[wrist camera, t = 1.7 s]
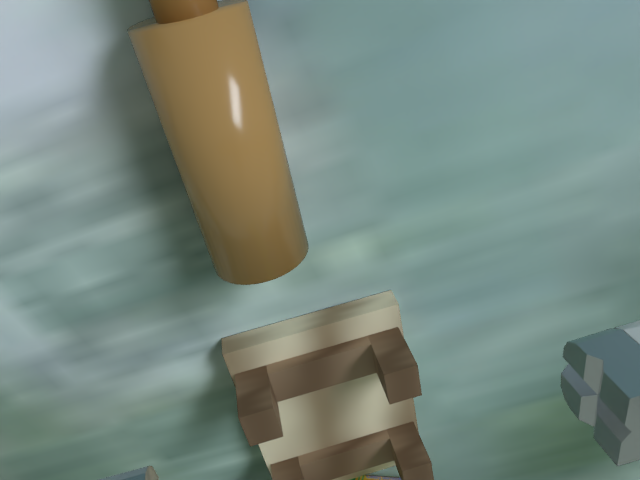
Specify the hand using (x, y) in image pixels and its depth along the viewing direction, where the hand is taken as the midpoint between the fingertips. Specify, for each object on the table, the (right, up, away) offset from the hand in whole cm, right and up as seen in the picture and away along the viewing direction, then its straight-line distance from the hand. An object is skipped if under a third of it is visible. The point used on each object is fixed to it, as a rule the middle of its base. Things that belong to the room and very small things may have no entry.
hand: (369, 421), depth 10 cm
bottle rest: (0, -7, +27) cm, 28 cm away
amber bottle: (-5, +11, +15) cm, 20 cm away
